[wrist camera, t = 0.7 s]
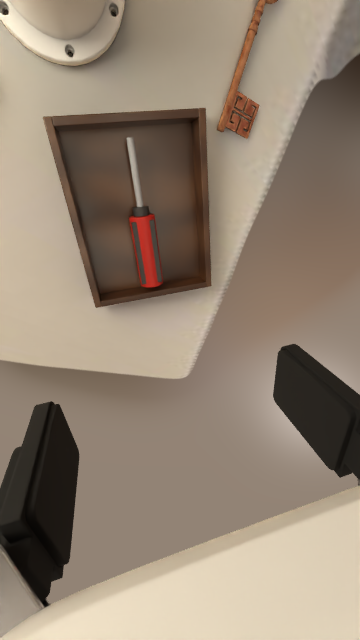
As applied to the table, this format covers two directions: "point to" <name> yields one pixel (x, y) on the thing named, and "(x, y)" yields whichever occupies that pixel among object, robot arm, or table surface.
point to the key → (236, 80)
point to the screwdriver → (144, 231)
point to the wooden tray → (119, 197)
